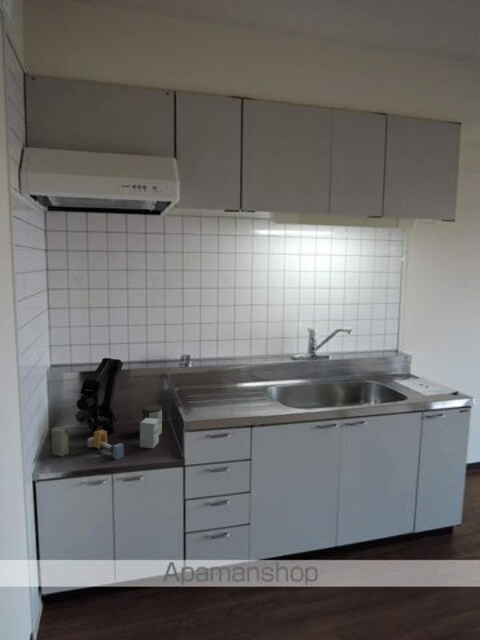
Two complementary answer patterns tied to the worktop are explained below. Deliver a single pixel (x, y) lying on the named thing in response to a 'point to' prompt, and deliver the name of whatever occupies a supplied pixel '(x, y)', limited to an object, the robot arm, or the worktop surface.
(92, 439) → the grey mallet
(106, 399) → the robot arm
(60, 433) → the skincare box
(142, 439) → the supplement box
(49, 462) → the worktop surface
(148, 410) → the coffee can
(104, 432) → the sleeve
